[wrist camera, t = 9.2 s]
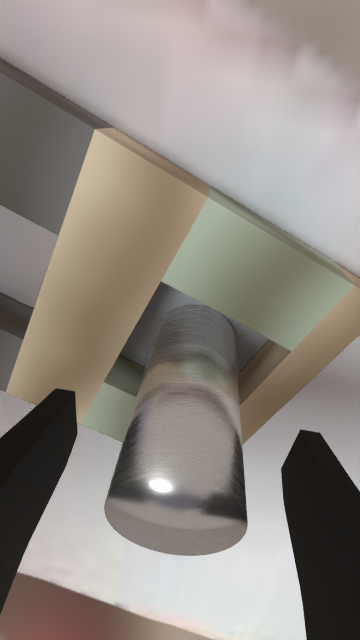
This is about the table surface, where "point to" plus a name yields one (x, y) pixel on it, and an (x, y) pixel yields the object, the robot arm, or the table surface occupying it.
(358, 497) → the robot arm
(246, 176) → the table surface
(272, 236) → the tool stand
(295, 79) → the table surface
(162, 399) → the metal cylinder
